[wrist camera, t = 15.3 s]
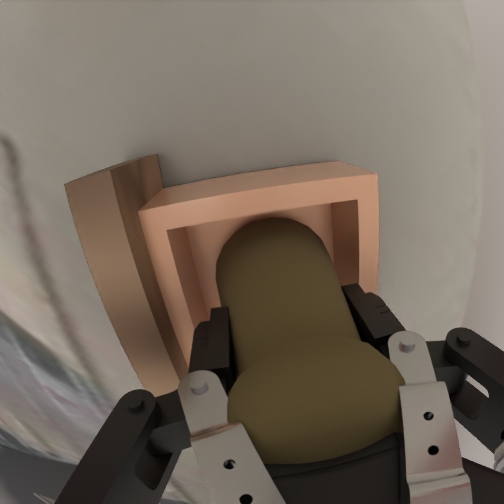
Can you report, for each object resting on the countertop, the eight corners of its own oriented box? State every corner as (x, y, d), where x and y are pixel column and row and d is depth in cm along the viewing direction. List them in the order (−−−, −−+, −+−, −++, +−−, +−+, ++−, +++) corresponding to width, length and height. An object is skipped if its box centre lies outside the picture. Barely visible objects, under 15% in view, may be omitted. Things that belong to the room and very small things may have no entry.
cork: (349, 277, 16) (458, 440, 6) (264, 338, 17) (295, 520, 7) (285, 192, 14) (409, 346, 4) (190, 268, 15) (149, 477, 5)
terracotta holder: (163, 188, 16) (137, 211, 12) (338, 160, 16) (377, 173, 12) (201, 333, 20) (195, 386, 15) (344, 308, 20) (370, 354, 16)
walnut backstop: (124, 161, 16) (64, 184, 9) (156, 153, 16) (110, 170, 9) (182, 355, 21) (170, 431, 15) (208, 352, 21) (203, 430, 15)
